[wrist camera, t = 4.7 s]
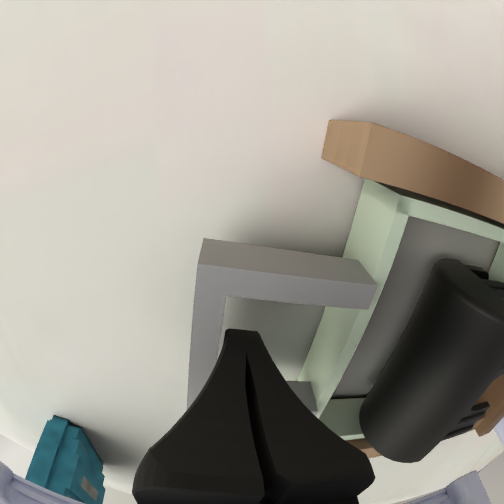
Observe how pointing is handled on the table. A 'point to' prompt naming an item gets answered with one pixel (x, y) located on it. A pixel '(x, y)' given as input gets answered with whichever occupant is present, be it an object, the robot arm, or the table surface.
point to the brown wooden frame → (426, 183)
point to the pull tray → (322, 291)
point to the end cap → (438, 365)
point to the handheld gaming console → (67, 463)
